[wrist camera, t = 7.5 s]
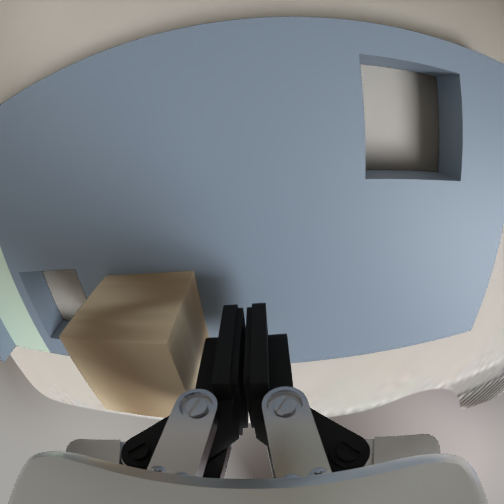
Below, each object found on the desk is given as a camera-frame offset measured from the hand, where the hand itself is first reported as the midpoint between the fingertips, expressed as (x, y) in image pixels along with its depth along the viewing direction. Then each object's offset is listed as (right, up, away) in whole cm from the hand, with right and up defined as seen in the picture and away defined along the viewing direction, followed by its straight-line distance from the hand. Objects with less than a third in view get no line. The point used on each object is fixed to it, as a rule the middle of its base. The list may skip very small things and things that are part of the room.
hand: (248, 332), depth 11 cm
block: (-4, 0, +2) cm, 5 cm away
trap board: (-3, +5, +2) cm, 6 cm away
